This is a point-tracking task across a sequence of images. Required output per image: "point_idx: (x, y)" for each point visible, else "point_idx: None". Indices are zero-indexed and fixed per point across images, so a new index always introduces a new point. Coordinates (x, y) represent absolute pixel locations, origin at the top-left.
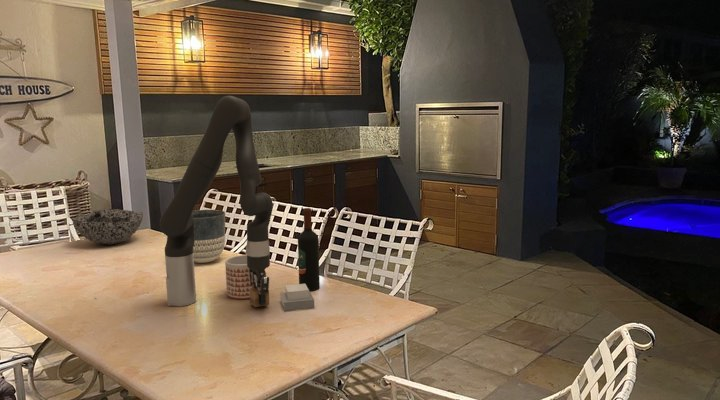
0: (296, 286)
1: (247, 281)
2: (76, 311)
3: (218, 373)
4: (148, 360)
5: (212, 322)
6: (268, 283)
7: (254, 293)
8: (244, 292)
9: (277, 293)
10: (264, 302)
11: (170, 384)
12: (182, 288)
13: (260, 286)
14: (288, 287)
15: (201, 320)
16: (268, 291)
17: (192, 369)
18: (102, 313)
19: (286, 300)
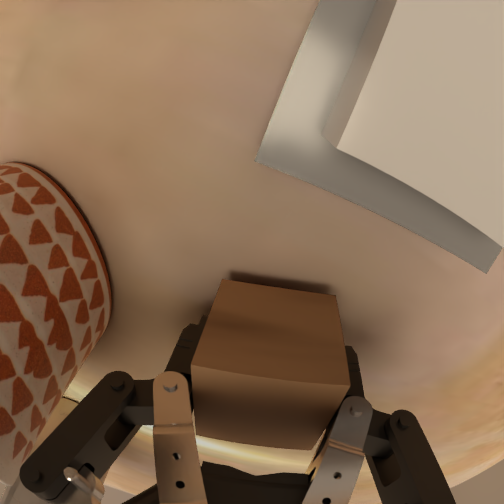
0: (481, 58)
1: (56, 381)
2: None
3: (499, 450)
4: (375, 500)
5: (303, 456)
6: (446, 489)
7: (312, 446)
8: (92, 342)
9: (88, 100)
10: (352, 355)
11: (457, 481)
12: (103, 479)
13: (379, 491)
14: (451, 168)
15: (264, 462)
16: (347, 380)
17: (457, 472)
18: (120, 476)
19: (474, 237)
